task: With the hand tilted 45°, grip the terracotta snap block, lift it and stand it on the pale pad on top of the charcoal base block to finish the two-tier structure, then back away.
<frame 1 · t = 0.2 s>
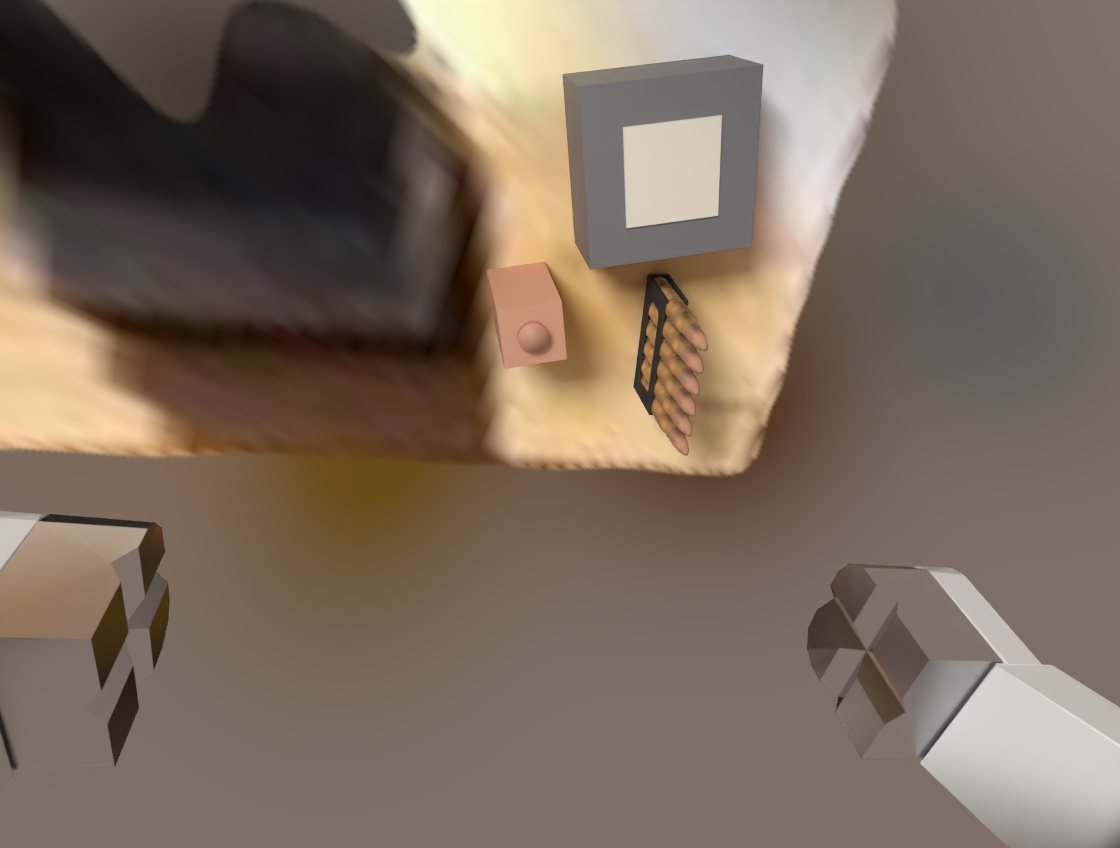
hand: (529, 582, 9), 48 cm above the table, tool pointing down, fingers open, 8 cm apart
base block: (648, 153, 54), on the table
snap block: (519, 293, 58), on the table
ammunition clip: (650, 332, 62), on the table
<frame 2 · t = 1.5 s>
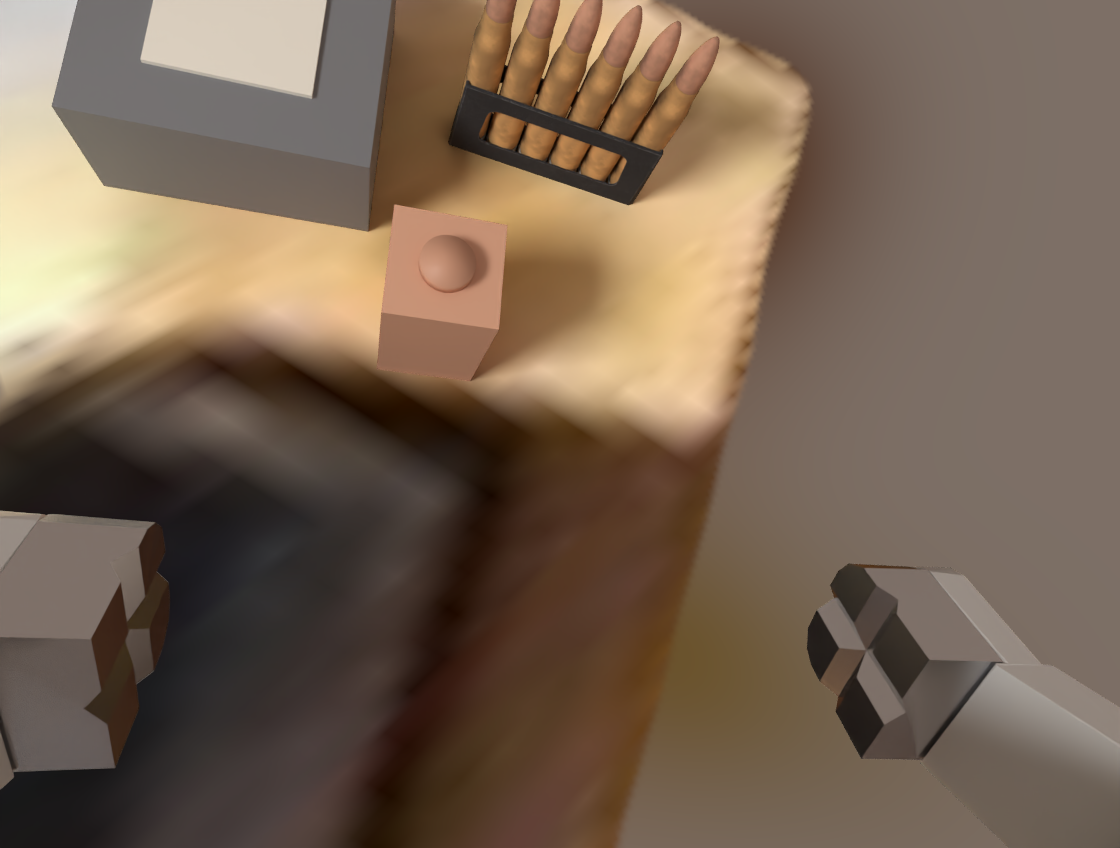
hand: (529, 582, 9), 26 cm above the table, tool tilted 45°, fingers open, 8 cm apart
base block: (260, 101, 36), on the table
snap block: (428, 331, 36), on the table
ammunition clip: (544, 163, 40), on the table
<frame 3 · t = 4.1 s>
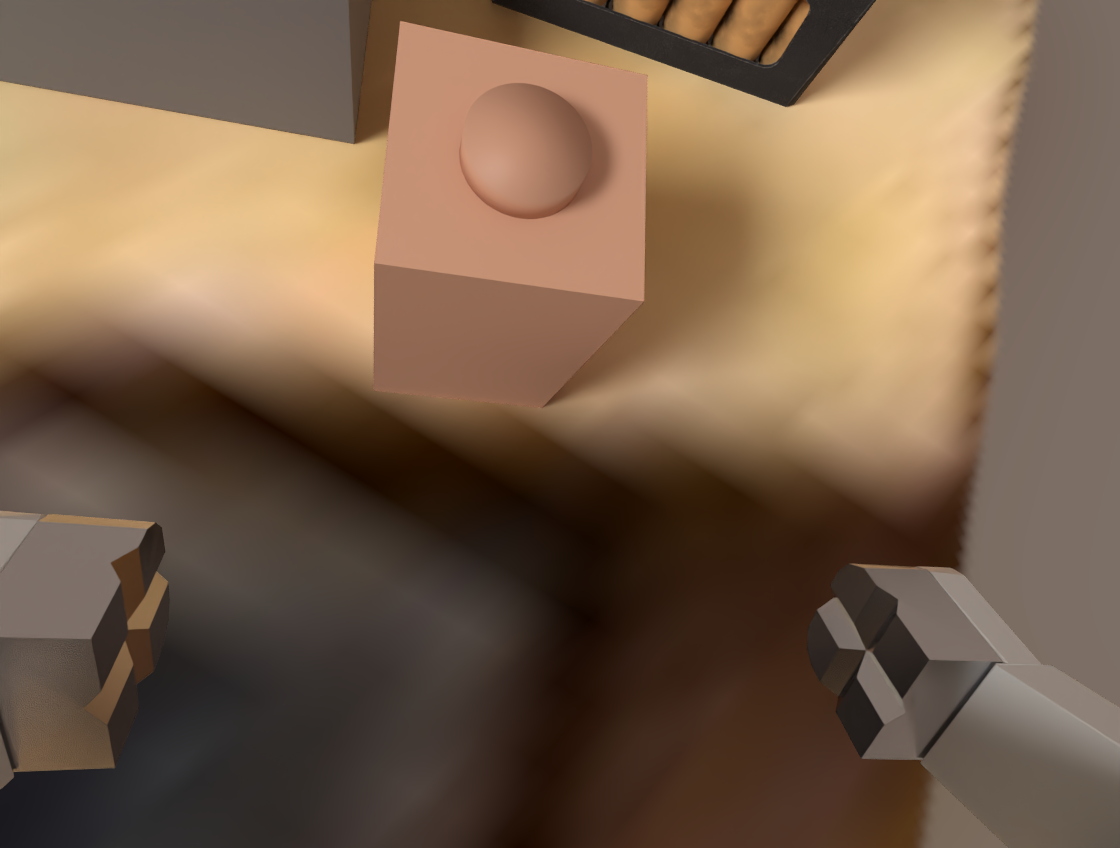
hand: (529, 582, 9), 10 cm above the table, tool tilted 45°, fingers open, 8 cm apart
snap block: (465, 320, 20), on the table
ammunition clip: (648, 39, 24), on the table
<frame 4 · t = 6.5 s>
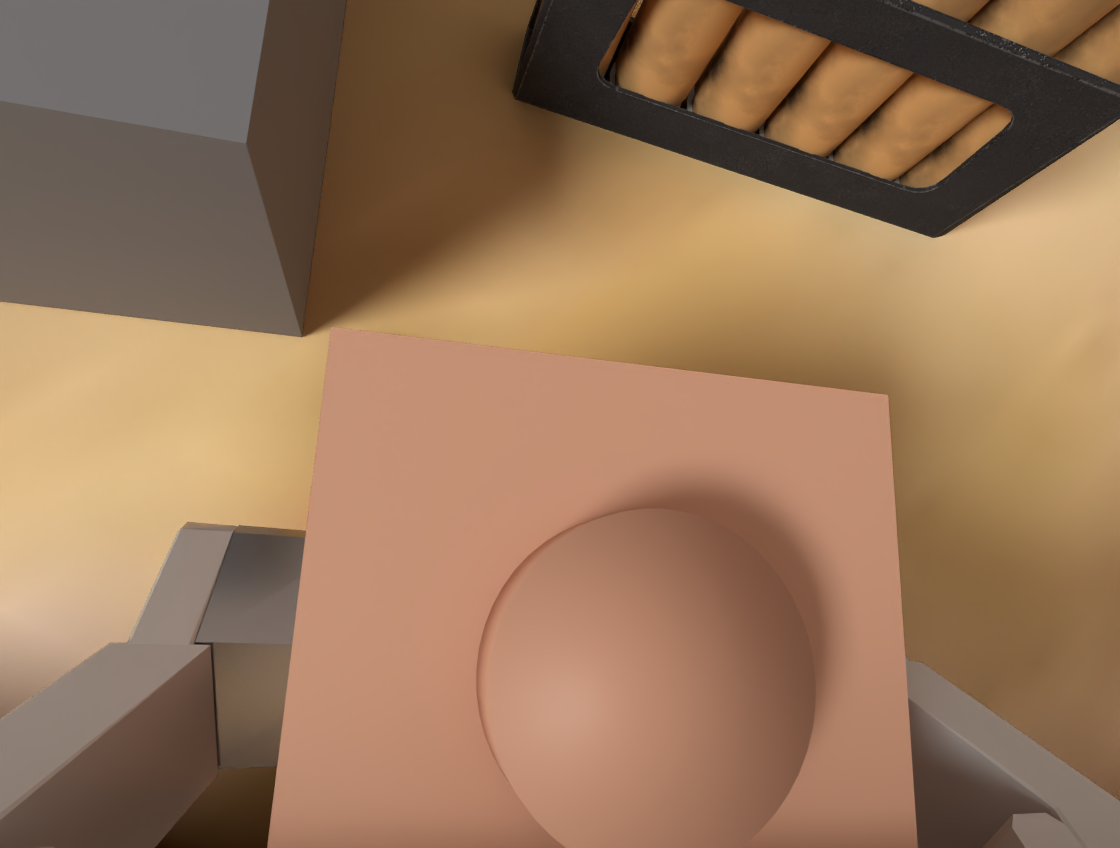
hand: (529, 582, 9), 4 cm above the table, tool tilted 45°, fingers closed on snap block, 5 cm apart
snap block: (477, 620, 13), on the table, touching gripper
ammunition clip: (739, 144, 17), on the table
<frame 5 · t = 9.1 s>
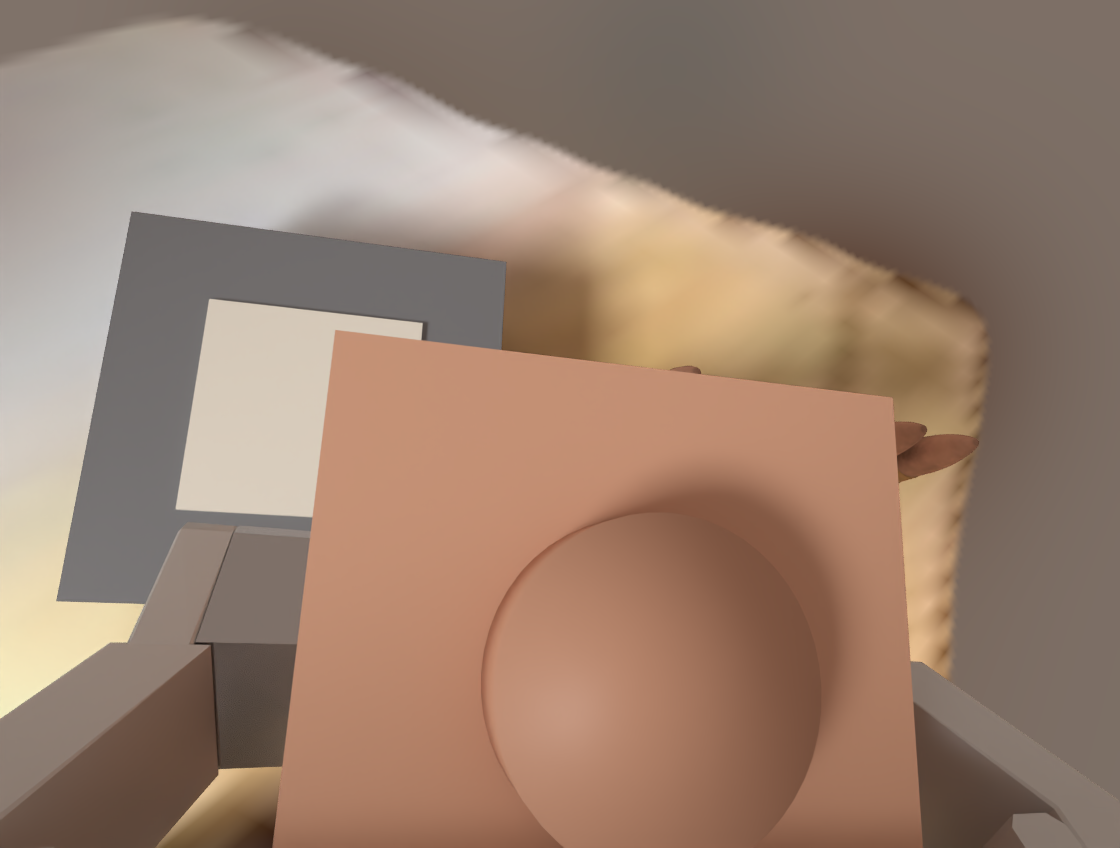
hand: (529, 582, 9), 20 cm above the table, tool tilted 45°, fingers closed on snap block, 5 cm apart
base block: (324, 447, 28), on the table
snap block: (478, 621, 13), point 16 cm above the table, touching gripper
ammunition clip: (677, 475, 32), on the table
when the fingers open (12 cm above the table, at t = 11.8 s): snap block drops 1 cm, resting on base block.
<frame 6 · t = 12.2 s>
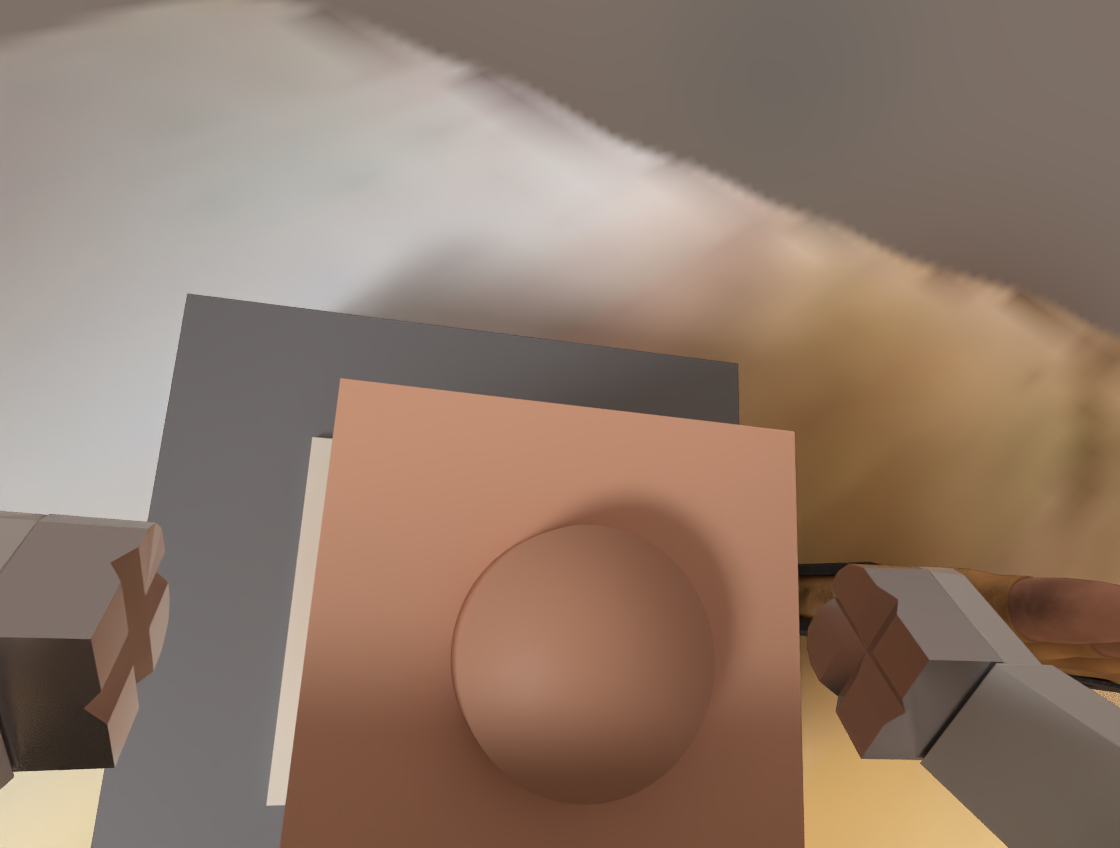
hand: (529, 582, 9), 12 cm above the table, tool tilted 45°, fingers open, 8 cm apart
base block: (440, 607, 20), on the table
snap block: (465, 616, 14), point 6 cm above the table, touching base block
ammunition clip: (896, 624, 24), on the table
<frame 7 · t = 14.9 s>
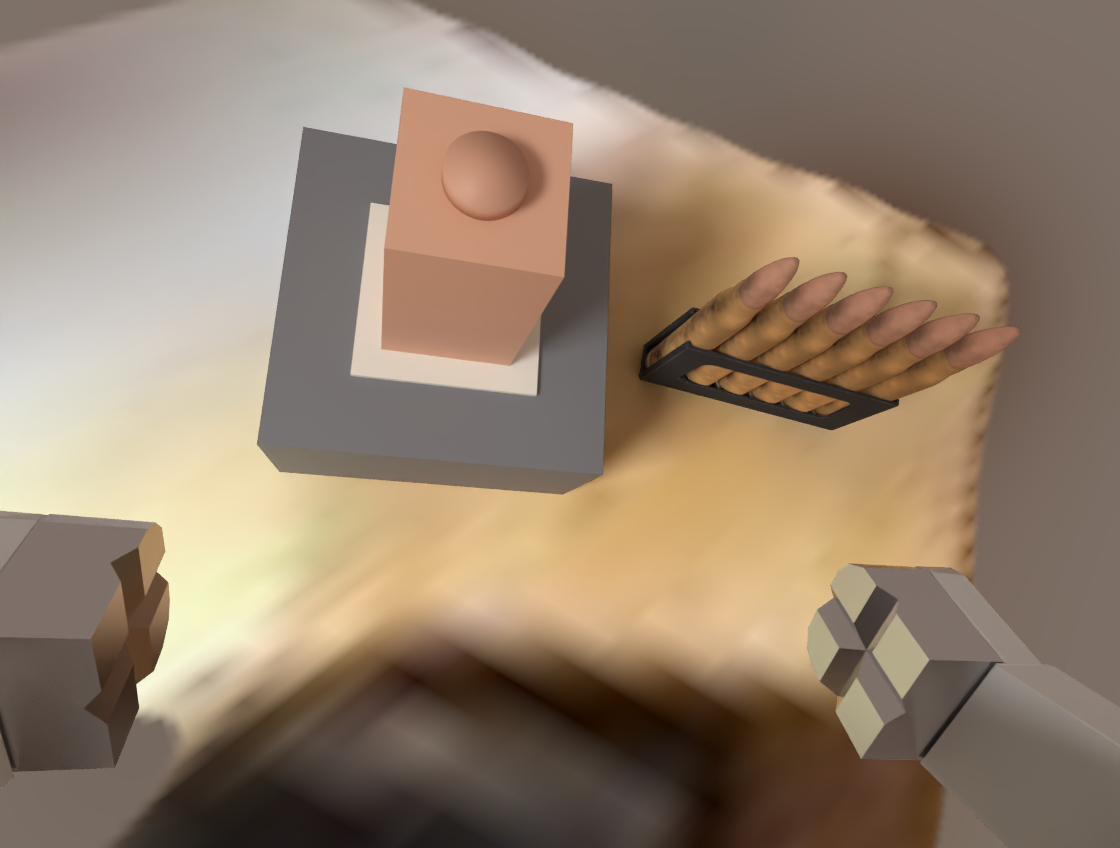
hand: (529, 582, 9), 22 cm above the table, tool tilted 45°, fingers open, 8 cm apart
base block: (439, 351, 32), on the table
snap block: (452, 298, 26), point 6 cm above the table, touching base block
ammunition clip: (739, 389, 36), on the table
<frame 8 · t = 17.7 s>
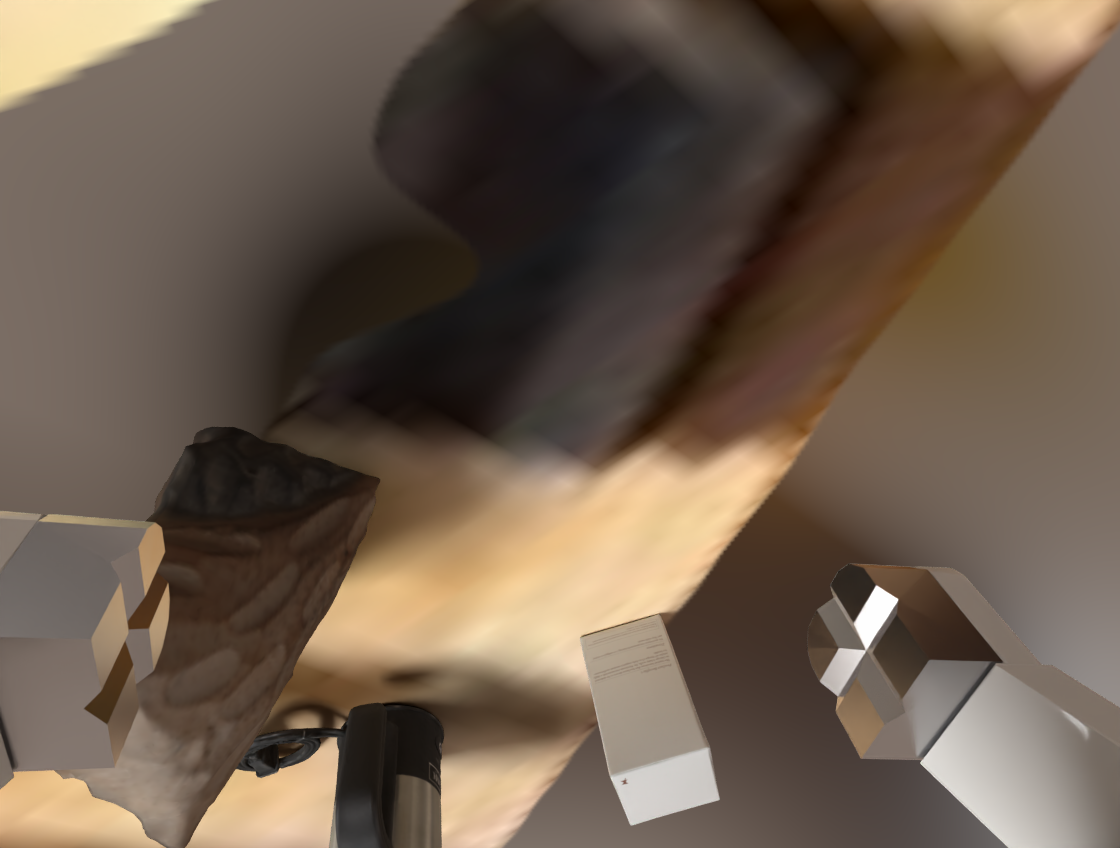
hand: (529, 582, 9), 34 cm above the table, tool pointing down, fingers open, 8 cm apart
supplement box: (627, 648, 62), on the table
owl: (284, 500, 49), on the table
milk frother: (344, 732, 63), on the table
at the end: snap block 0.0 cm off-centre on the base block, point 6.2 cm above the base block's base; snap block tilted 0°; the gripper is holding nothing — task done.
